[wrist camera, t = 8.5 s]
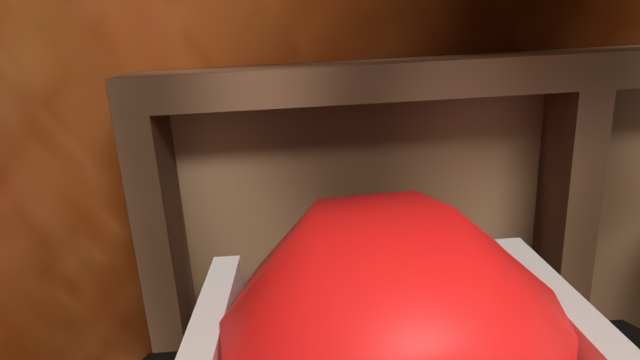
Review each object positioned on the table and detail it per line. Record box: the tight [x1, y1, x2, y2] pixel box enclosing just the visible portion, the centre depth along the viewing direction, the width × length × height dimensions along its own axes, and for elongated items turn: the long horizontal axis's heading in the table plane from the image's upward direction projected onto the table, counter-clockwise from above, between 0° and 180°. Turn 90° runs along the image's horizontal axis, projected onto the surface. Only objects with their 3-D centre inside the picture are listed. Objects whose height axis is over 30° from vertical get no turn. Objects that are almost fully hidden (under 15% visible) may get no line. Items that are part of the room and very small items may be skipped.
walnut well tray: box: [104, 45, 640, 353], centre depth 16 cm, size 26×13×2 cm, turn 93°
